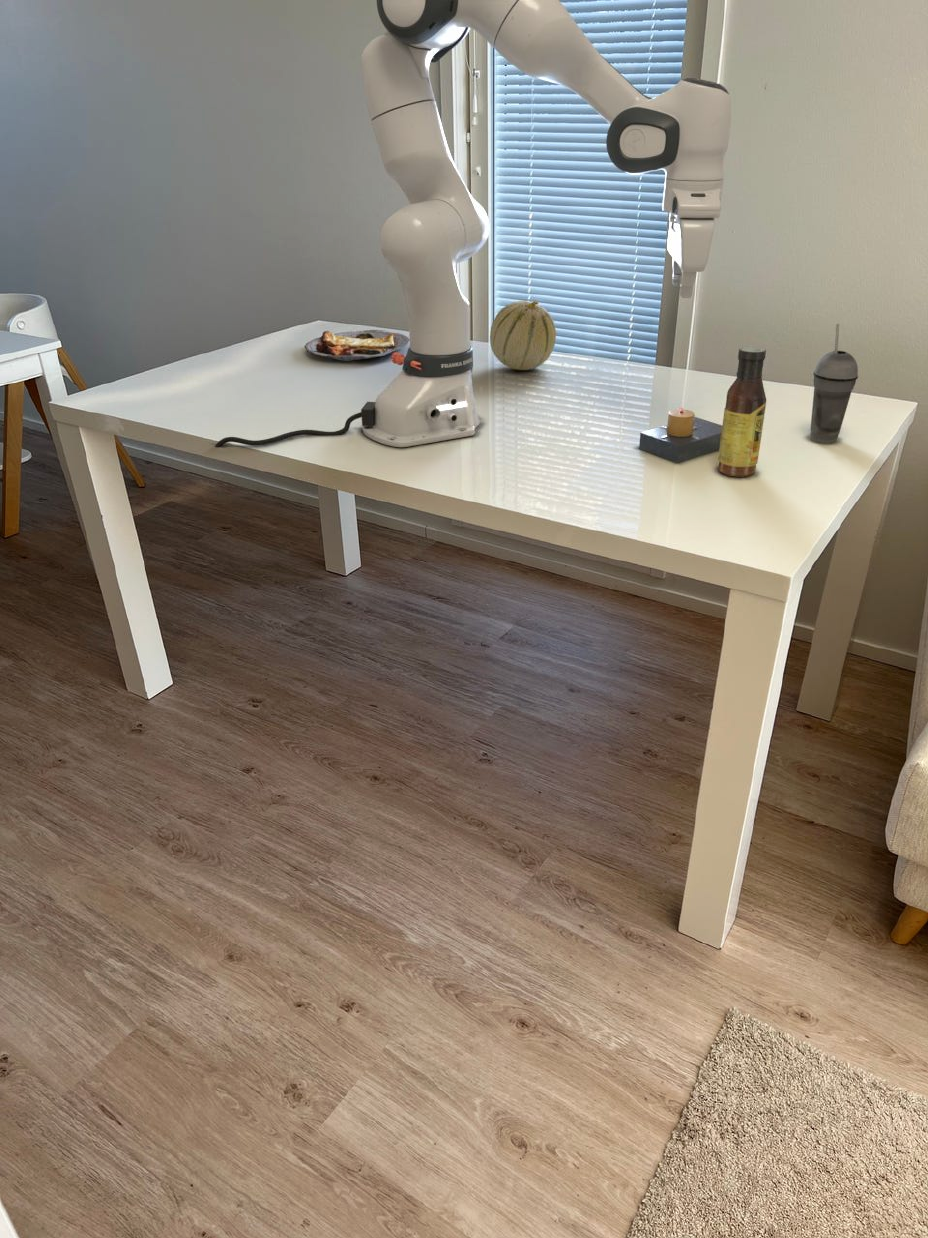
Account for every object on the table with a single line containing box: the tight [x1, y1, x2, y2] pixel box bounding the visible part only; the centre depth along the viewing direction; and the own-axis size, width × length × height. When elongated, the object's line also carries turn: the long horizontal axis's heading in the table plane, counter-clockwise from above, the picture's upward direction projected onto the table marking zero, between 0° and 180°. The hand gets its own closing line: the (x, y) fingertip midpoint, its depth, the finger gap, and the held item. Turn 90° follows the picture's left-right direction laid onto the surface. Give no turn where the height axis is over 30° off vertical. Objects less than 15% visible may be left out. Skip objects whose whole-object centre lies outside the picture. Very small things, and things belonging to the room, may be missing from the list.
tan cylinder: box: [666, 407, 696, 437], centre depth 158 cm, size 4×4×4 cm
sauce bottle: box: [717, 346, 767, 478], centre depth 147 cm, size 7×6×20 cm
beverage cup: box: [809, 323, 859, 445], centre depth 159 cm, size 7×7×20 cm
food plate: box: [303, 329, 410, 362], centre depth 222 cm, size 25×23×4 cm
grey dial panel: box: [638, 416, 723, 464], centre depth 161 cm, size 14×9×3 cm, turn 126°
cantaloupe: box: [489, 300, 557, 371], centre depth 203 cm, size 15×15×15 cm
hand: (681, 290), depth 151 cm, fingers open, 8 cm apart
